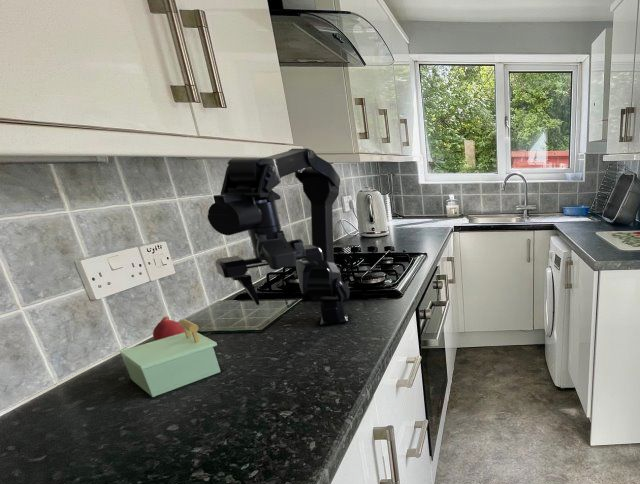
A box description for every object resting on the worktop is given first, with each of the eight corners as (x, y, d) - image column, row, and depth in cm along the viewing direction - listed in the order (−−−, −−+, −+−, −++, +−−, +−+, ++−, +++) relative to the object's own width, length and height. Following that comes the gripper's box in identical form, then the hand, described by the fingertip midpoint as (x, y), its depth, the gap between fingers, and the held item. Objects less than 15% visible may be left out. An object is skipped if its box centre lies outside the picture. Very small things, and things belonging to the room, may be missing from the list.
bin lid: (193, 332, 89) (187, 313, 87) (217, 345, 83) (211, 325, 81) (120, 354, 79) (112, 332, 77) (141, 370, 73) (133, 347, 72)
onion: (173, 355, 91) (161, 322, 88) (152, 353, 92) (140, 320, 89) (196, 344, 96) (186, 313, 93) (176, 342, 97) (166, 311, 94)
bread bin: (197, 357, 90) (189, 334, 88) (220, 372, 84) (213, 347, 82) (131, 379, 81) (121, 354, 79) (152, 397, 75) (141, 370, 73)
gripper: (220, 238, 70) (243, 321, 76) (327, 224, 82) (340, 297, 88) (204, 229, 77) (227, 306, 83) (306, 218, 90) (319, 286, 96)
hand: (281, 299), depth 87 cm, fingers open, 9 cm apart
